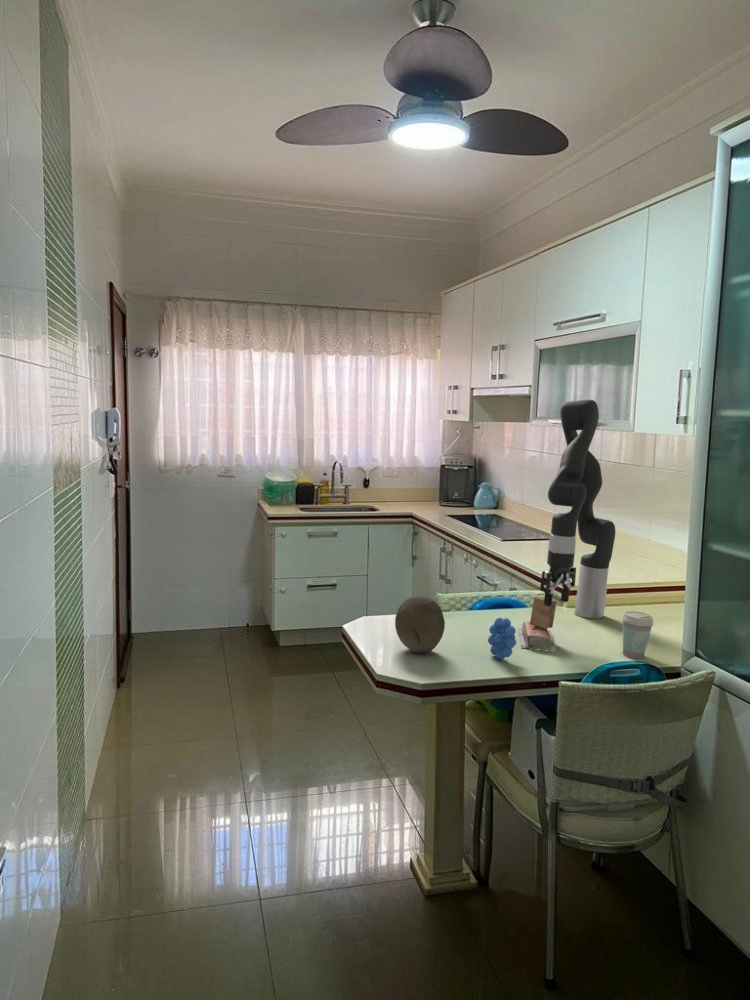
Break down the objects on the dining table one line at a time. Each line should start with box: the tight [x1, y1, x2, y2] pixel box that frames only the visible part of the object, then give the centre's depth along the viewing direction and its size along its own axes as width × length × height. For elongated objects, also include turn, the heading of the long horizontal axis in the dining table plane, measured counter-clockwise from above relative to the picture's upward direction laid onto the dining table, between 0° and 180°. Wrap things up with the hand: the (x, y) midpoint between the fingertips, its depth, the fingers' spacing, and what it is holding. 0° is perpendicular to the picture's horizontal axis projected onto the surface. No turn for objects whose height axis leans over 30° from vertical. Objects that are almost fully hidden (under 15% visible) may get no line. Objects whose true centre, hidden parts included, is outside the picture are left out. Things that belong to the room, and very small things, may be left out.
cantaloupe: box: [394, 595, 446, 654], centre depth 200 cm, size 14×14×15 cm
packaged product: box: [517, 620, 557, 652], centre depth 217 cm, size 18×5×10 cm
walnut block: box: [529, 596, 558, 629], centre depth 216 cm, size 5×5×8 cm
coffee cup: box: [621, 610, 654, 660], centre depth 209 cm, size 9×8×12 cm
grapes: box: [487, 617, 517, 661], centre depth 198 cm, size 12×7×12 cm, turn 23°
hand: (556, 603), depth 215 cm, fingers open, 8 cm apart
